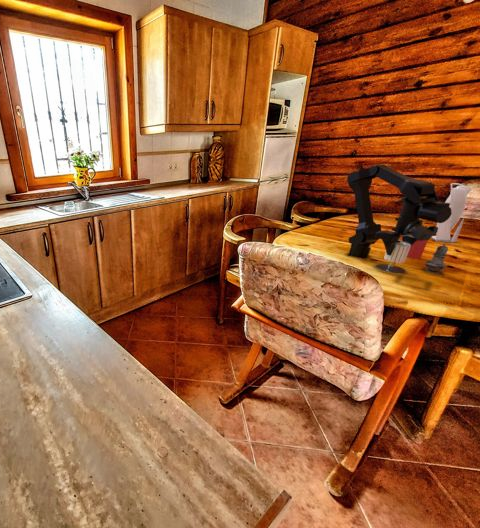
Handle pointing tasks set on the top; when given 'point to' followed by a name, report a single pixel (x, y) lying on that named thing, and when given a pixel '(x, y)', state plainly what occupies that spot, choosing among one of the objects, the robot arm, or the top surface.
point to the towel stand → (390, 268)
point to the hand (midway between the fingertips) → (395, 254)
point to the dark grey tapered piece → (437, 260)
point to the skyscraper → (453, 214)
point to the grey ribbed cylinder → (398, 253)
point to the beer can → (417, 249)
